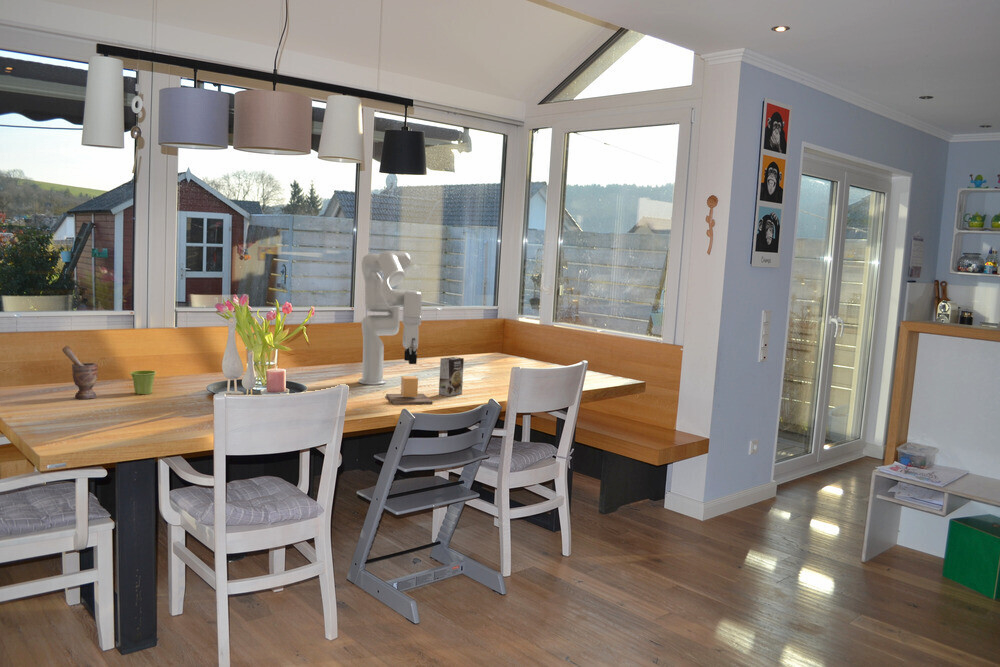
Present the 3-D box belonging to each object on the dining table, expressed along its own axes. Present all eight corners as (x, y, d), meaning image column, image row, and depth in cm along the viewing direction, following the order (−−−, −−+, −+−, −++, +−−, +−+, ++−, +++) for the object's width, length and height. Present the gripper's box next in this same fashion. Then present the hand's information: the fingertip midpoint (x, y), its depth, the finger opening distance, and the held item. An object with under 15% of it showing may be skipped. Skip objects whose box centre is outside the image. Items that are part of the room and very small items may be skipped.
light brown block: (400, 394, 323) (401, 376, 322) (414, 394, 325) (415, 376, 324) (403, 396, 318) (404, 378, 317) (417, 396, 319) (417, 378, 319)
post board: (386, 396, 327) (386, 375, 326) (423, 395, 332) (423, 375, 331) (393, 404, 310) (394, 382, 309) (432, 404, 315) (433, 382, 314)
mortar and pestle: (64, 401, 288) (63, 348, 286) (62, 396, 295) (61, 345, 293) (99, 399, 295) (98, 347, 292) (96, 395, 302) (95, 344, 300)
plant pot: (137, 396, 302) (137, 374, 301) (125, 393, 308) (125, 371, 307) (160, 393, 310) (160, 372, 309) (148, 390, 315) (148, 369, 315)
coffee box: (449, 396, 334) (450, 359, 332) (438, 394, 338) (439, 358, 336) (462, 394, 341) (464, 358, 339) (451, 391, 345) (453, 356, 343)
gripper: (399, 318, 325) (397, 359, 327) (406, 323, 308) (405, 365, 310) (416, 319, 327) (414, 359, 329) (425, 323, 311) (423, 365, 313)
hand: (410, 362), depth 320 cm, fingers open, 8 cm apart
